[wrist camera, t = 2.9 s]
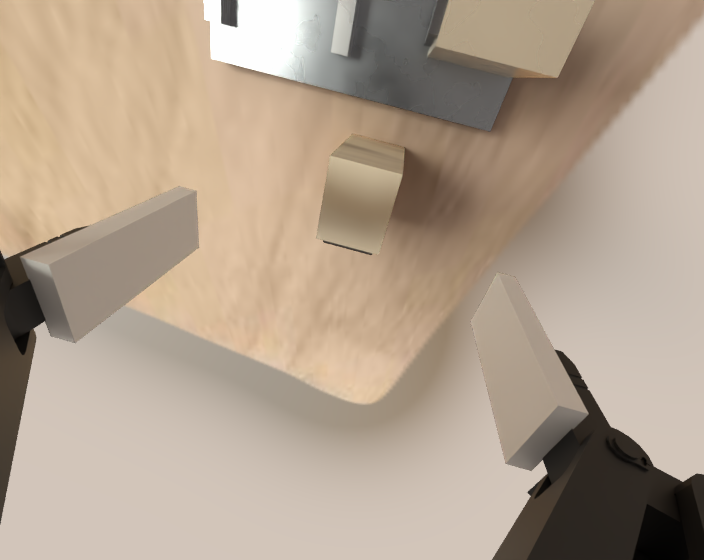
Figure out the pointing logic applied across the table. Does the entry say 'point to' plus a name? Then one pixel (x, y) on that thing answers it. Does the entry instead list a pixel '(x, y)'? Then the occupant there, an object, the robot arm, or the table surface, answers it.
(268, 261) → the table surface
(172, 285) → the table surface
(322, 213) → the wooden block
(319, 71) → the grey base stand
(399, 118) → the table surface
